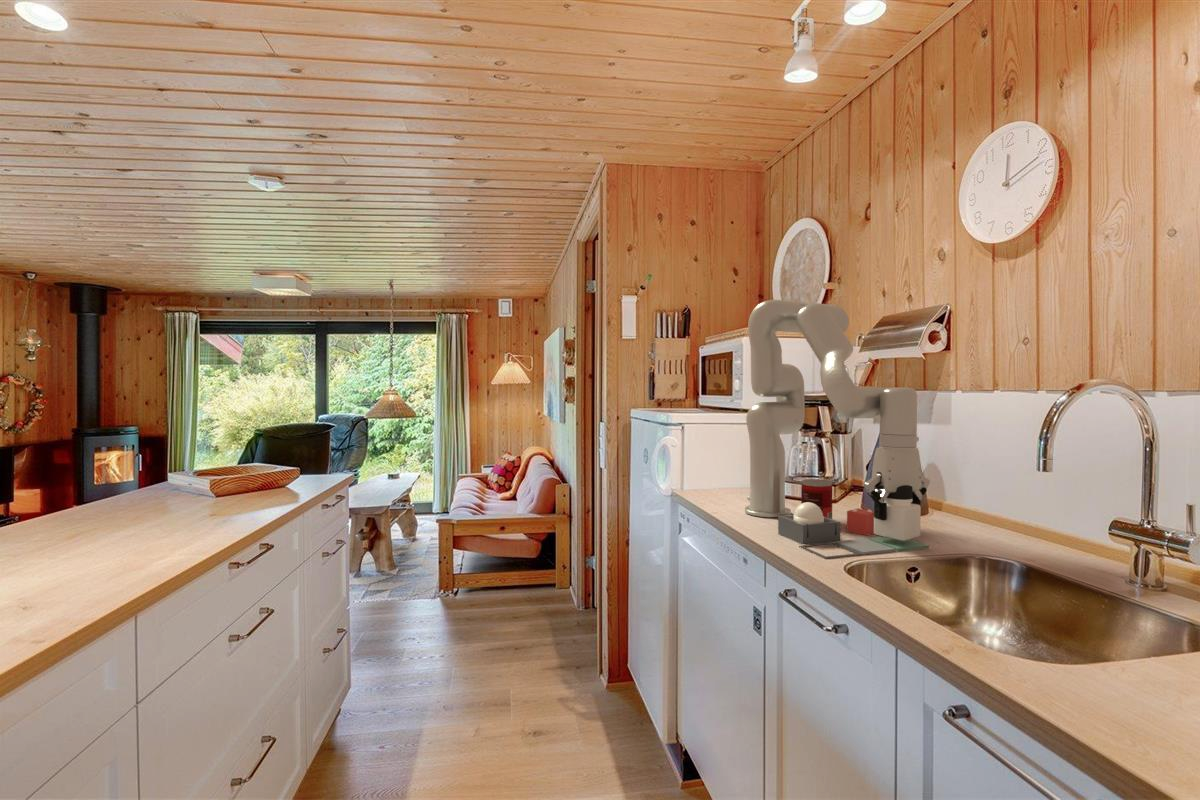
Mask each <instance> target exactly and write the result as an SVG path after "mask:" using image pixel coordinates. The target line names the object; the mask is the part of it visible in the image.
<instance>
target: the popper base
mask: <svg viewBox="0 0 1200 800" xmlns="http://www.w3.org/2000/svg"><path fill="white" fill-rule="evenodd" d="M777 518H778V519H777V520H778V521H777V523H778V524H777V526H778V527H777V530H778V531H777V532H778V533H777V534H778V535H779V534H780V536H782V535H783V536H782V537H784V536H785V537H784V538H786V537H787V539H789V538H790V539H789V540H791V539H792V540H791V541H793V540H794V541H793V542H795V541H796V543H798V542H799V543H798V544H800V543H801V544H800V545H802V544H806V545H813V544H824V543H835V541H841V521H839V520H836V519H833V518H832V519H830V518H827V517H824V522H821V523H808V524H803V523H801V522H798V521H795V520H794V514H790V515H784V516H782V515H781V516H778V517H777Z"/></svg>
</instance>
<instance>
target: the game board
mask: <svg viewBox="0 0 1200 800" xmlns="http://www.w3.org/2000/svg"><path fill="white" fill-rule="evenodd" d="M835 545H836V547H839V548H841V549H842V550H843V549H844V550H845V551H849V552H851V553H847V554H837V555H828V556H827V555H824V554H822V553H819V552H817V551H815V550H812V549H810V548H812V546H815V547H823V546H835ZM798 547H799V548H800V547H801V548H800V549H802V548H803V549H802V550H804V549H805V551H807V552H809V553H811V554H813V553H814V554H813V555H815V554H816V556H818V557H820V558H822V559H825V560H827V559H837V558H838V559H839V558H847V557H849V556H850V557H856V556H866V555H867V554H868V555H874V553H877V554H885V553H896V552H906V551H914V550H925V549H926V550H927V549H930V545H928V544H926V543H922V542H919V541H916V540H912V539H908V540H905V541H903V540H898V539H894V538H889V537H885V536H879V537H869V538H857V539H855V538H854V539H845V540H840V541H835V542H828V543H817V544H806V545H799V546H798Z"/></svg>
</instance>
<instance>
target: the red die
mask: <svg viewBox="0 0 1200 800" xmlns="http://www.w3.org/2000/svg"><path fill="white" fill-rule="evenodd" d="M846 531H847V532H850V533H854V534H859V535H863V536H869V535H871V534H874V510H871V509H863V508H860V507H859V508H853V509H850V510H846ZM868 534H869V535H868Z"/></svg>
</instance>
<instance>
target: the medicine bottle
mask: <svg viewBox="0 0 1200 800" xmlns="http://www.w3.org/2000/svg"><path fill="white" fill-rule="evenodd" d="M883 489H884V488H883ZM912 493H913V487H912V486H909V485H903V486H900V487H898V488H897V490H896V492H894V493H889V495H888V496H887V498H886V500H885V501H884V502H885V503H887V520H885V521H883V520H880V519H876V518H874V533H873V534H874V535H877V536H879V537H889V538H894V539H898V540H903V541H905V540H908V539H910V540H912V539H915V538H918V537H921V513H922V512H921V510H922V509H921V508H922V507H921V506H920V505H917V504H912V503H911V502H912Z"/></svg>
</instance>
